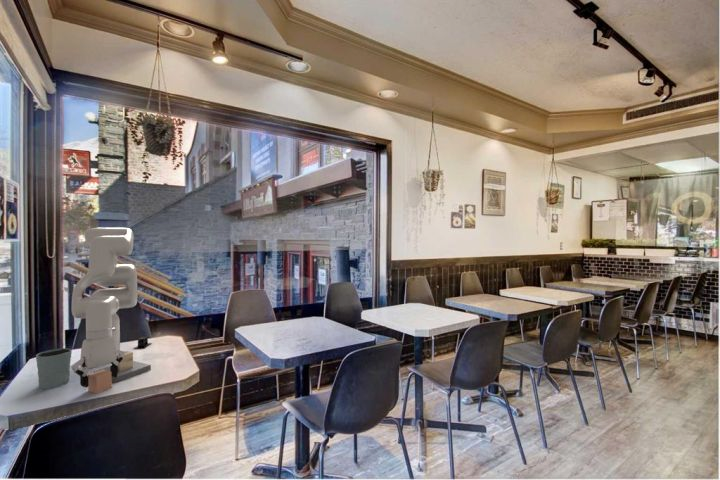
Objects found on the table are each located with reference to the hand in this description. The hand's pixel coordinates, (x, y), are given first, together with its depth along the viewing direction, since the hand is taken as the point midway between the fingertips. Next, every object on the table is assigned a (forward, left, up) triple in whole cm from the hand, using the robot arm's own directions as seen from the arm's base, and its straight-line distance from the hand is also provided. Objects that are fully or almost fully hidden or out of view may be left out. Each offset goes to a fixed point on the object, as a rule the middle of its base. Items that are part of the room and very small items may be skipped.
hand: (99, 381), depth 128 cm
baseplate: (-8, +13, -3) cm, 16 cm away
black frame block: (-35, +40, -4) cm, 53 cm away
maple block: (-8, +13, -1) cm, 16 cm away
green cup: (-21, -4, -3) cm, 22 cm away
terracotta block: (0, 0, -3) cm, 3 cm away
